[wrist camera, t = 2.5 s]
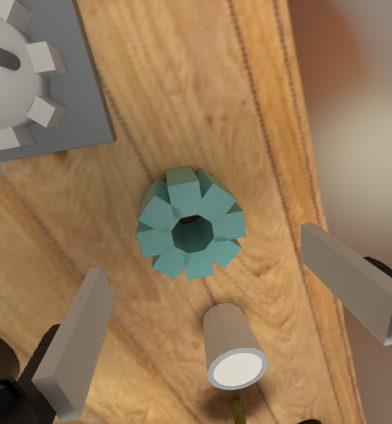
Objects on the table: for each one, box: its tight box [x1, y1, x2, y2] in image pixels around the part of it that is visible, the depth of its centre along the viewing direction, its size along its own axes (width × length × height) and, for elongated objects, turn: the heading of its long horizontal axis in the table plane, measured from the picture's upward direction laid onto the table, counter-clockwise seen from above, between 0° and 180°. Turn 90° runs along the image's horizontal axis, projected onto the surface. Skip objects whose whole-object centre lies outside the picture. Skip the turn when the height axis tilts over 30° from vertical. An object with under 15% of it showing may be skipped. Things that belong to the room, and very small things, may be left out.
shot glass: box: [203, 303, 268, 390], centre depth 28 cm, size 7×7×7 cm
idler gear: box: [136, 166, 246, 280], centre depth 21 cm, size 9×9×6 cm
